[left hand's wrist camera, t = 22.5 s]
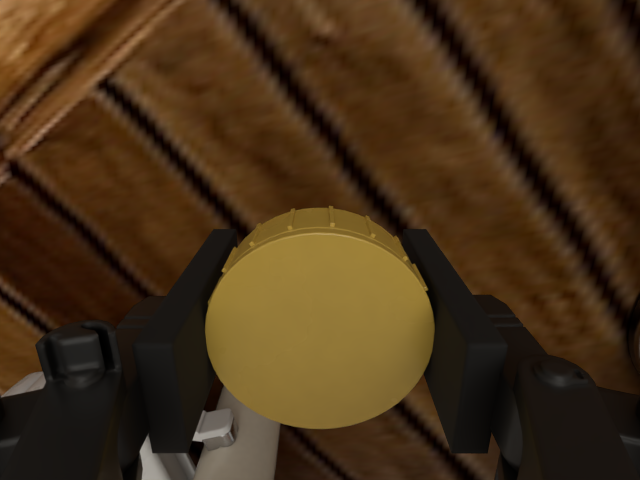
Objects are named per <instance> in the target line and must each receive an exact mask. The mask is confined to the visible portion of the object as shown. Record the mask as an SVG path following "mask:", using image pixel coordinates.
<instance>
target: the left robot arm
mask: <svg viewBox="0 0 640 480" xmlns="http://www.w3.org/2000/svg"><path fill="white" fill-rule="evenodd" d="M234 247H236V248H237V247H238V246H237V233H236V229H214V230H213V231H212V232H211V234H210V235H209V237H208V238H207V239H206V241H205V242H204V244H203V245H202V247H201V248H200V249H199V251H198V252H197V254H196V255H195V256H194V258H193V259H192V261H191V262H190V263H189V265H188V266H187V268H186V269H185V270H184V272H183V273H182V275H181V276H180V278H179V279H178V280H177V282H176V283H175V285H174V286H173V287H172V289H171V290H170V292H169V293H168V294H167V296H149V297H147V298H145V299H144V300H142V301H141V302H139V303H137V304H136V305H134V306H133V307H132V308H131V310H130V311H129V312H128V313H127V315H126V316H125V318H124V319H122V321H121V322H120V323H119V324H118V325H117V329H115V327H114V326H113V325H112V324H110V323H109V322H107V321H102V320H83V321H79V322H74V323H70V324H67V325H64V326H62V327H59V328H57V329H54V330H53V331H51V332H49V333H48V334H46V335H45V336H43V337H42V338H41V339H40V340H39V341H38V342H37V343H36V344H35V346H36V349H37V353H38V356H39V360H40V363H41V367H42V370H43V374H44V377H45V380H46V383H45V385H44V387H43V388H42V389H38V390H34V391H30V392H25V393H20V394H15V395H10V396H5V397H1V396H0V480H142V473H143V466H142V460H141V455H140V450H141V448H142V446H143V444H144V442H145V439H146V437H147V435H148V433H149V439H150V444H151V449H152V453H188V452H189V449H190V446H191V443H192V440H193V437H194V435H195V432H196V429H197V426H198V423H199V420H200V418H201V415H202V412H203V409H204V406H205V403H206V401H207V398H208V395H209V392H210V389H211V386H212V384H213V381H214V378H215V375H216V372H215V370H214V368H213V366H212V363H211V361H210V358H209V356H208V351H207V345H206V336H205V319H206V314H207V310H208V300H209V298H210V296H211V295H212V293H213V291H214V289H215V287H216V285H217V283H218V281H219V279H220V277H221V276H222V274H223V272H222V269H223V267H224V265H225V263H226V261H227V259H228V257H229V255H230V253H231V251H232V249H233V248H234ZM402 247H403V249H404V251H405V252H406V254H407V256H408V258H409V260H410V262H411V264H415V265H416V267H417V269H418V271H419V273H420V275H421V276H422V278H423V280H424V282H425V284H426V286H427V288H428V290H427V291H425V292H426V294H427V296H428V298H429V300H430V304H431V307H432V310H433V315H434V322H435V332H434V341H433V350H432V354H431V357H430V360H429V363H428V365H427V367H426V369H425V371H424V376H425V379H426V382H427V384H428V387H429V390H430V393H431V396H432V399H433V401H434V404H435V407H436V410H437V413H438V416H439V418H440V421H441V424H442V427H443V430H444V433H445V435H446V438H447V441H448V444H449V447H450V450H451V452H452V453H488V448H489V443H490V437H491V432H492V434H493V436H494V438H495V440H496V442H497V444H498V446H499V448H500V455H499V460H498V465H497V469H496V474H495V479H494V480H640V395H634V394H629V393H624V392H620V391H615V390H610V389H605V388H601V387H597V386H596V384H595V382H594V381H593V379H592V378H591V377H590V376H589V374H588V373H587V372H586V371H584V370H583V369H582V368H580V367H579V366H577V365H576V364H574V363H572V362H569V361H567V360H565V359H563V358H559V357H555V356H551V355H548V354H547V353H546V352H545V351H544V349H543V348H542V347H541V346H540V344H539V343H538V342H537V341H536V340H535V338H534V337H533V336H532V335H531V334H530V332H529V331H528V330H527V329H526V328H525V327H523V324H522V323H521V322H520V320H519V319H518V318H516V317H515V314H514V313H513V312H512V311H511V310H510V308H509V307H508V306H507V305H506V304H505V303H503V302H502V301H500V300H498V299H497V298H495V297H493V296H492V295H472V293H471V292H470V291H469V289H468V288H467V286H466V285H465V284H464V282H463V281H462V279H461V278H460V277H459V275H458V274H457V272H456V271H455V269H454V268H453V267H452V265H451V264H450V262H449V261H448V260H447V258H446V257H445V255H444V254H443V253H442V251H441V250H440V248H439V247H438V246H437V244H436V243H435V241H434V240H433V238H432V237H431V236H430V234H429V233H428V231H427V230H426V229H403V242H402ZM628 341H629V351H630V356H631V359H632V362H633V364H634V366H635V368H636V370H637V372H638V373H639V375H640V299H639V301H638V303H637V305H636V307H635V310H634V312H633V315H632V319H631V322H630V328H629V337H628Z"/></svg>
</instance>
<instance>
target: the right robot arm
mask: <svg viewBox="0 0 640 480" xmlns="http://www.w3.org/2000/svg"><path fill="white" fill-rule="evenodd" d="M45 383H46V380H45V377H44V374H43V372H36V373H32V374H29V375H27V376H26V377H25V378H23V379H22V380H20V381H19V382H18V383H17V384H15V385H14V386H13V387H12V388H10V389H9V390H8V391H7V392H6V393H5V394H3V395H2V396H1V397H5V396H10V395H15V394H20V393H25V392H30V391H34V390H38V389H42V388H43V387H44V385H45ZM238 429H239V428H238V425H237V423H236V420H235V418H234V415H233V413H232V411H231V409H230V408H225V409H221V410H216V411H211V412H207V413H206V411H204V410H203V412H202V415H201V418H200V420H199V423H198V426H197V429H196V432H195V435H194V437H193V440H192V441H199V442H202V441H203V443H204V445H205V447H206V448H207V450H208V451H211V450H215V449H218V448H219V447H229V446H231V445H232V444H233V443H234V442H235V441H236V437H237V432H238ZM140 455H141V460H142V466H143V473H142V480H193V477H194V474H195V470H196V467H195V465H194V463H193V461H192V459H191V457H190V455H189V453H152V449H151V444H150V439H149V433H148V435H147V437H146V439H145V442H144V444H143V446H142V448H141V450H140Z"/></svg>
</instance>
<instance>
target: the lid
mask: <svg viewBox="0 0 640 480" xmlns="http://www.w3.org/2000/svg"><path fill="white" fill-rule="evenodd" d="M222 272H223V274H222V276H221V277H220V279H219V281H218V283H217V285H216V287H215V289H214V291H213V293H212V295H211V296H210V298H209V300H208V310H207V314H206V319H205V336H206V345H207V351H208V356H209V358H210V361H211V363H212V366H213V368H214V370H215V372H216V374H217V375H218V377H219V379H220V380H221V382H222V383H223V384H224V386H225V387H226V388H227V390H228V391H229V392H230V393H231V394H232V395H233V396H234V397H235V398H236V399H238V400H239V401H240V402H241V403H243V404H244V405H245V406H246V407H248V408H250V409H251V410H253V411H254V412H256V413H258V414H260V415H262V416H264V417H266V418H268V419H270V420H273V421H276V422H279V423H282V424H285V425H290V426H294V427H300V428H308V429H330V428H340V427H345V426H350V425H354V424H357V423H361V422H364V421H366V420H369V419H371V418H374V417H376V416H378V415H380V414H382V413H383V412H385V411H387V410H389V409H390V408H391V407H393V406H394V405H396V404H397V403H398V402H400V401H401V400H402V399H403V398H404V397H405V396H406V395H407V394H408V393H409V392H410V391H411V390H412V389H413V388H414V386H415V385H416V384H417V383H418V381H419V379H420V378H421V376H422V375H423V373H424V371H425V369H426V367H427V365H428V363H429V360H430V357H431V354H432V350H433V341H434V332H435V322H434V315H433V310H432V307H431V304H430V300H429V298H428V296H427V294H426V292H425V291H427V290H428V288H427V286H426V284H425V282H424V280H423V278H422V276H421V275H420V273H419V271H418V269H417V267H416V265H415V264H411V262H410V260H409V258H408V256H407V254H406V252H405V251H404V249H403V247H402V245H401V243H400V241H399V239H398V237H397V236H394V237H393V236H392V235H391V234H390V233H388V232H387V231H386V230H385V229H383V228H382V227H381V226H379V225H378V224H376V223H374V222H373V221H371V220H370V218H369V216H367V215H366V216H365V217H363V216H360V215H358V214H355V213H352V212H348V211H345V210H339V209H333V206H329V208H308V209H300V210H296V211H295V208H294V209H291V211H290V212H288V213H285V214H282V215H279V216H277V217H275V218H273V219H271V220H269V221H267V222H265V223H263V224H261V223H259V224H257V226H256V229H255V230H253V231H252V232H251V233H250V234H249V235H248V236H247V237H246V238H245V239H244V240H243V241H242V242H241V244H240V245H239V246H238V247H237V248H236V247H234V248H233V249H232V251H231V253H230V255H229V257H228V259H227V261H226V263H225V265H224V267H223V269H222Z"/></svg>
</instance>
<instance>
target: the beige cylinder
mask: <svg viewBox="0 0 640 480" xmlns="http://www.w3.org/2000/svg"><path fill="white" fill-rule="evenodd" d="M225 408H230V409H231V411H232V413H233V415H234V418H235V420H236V423H237V425H238V428H239V429H238V432H237V437H236V441H235V442H234V443H233V444H232V445H231V446H229V447H219V448H218V449H215V450H211V451H208V450H207V448H206V447H205V445H204V446H203V449H202V452H201V455H200V458H199V461H198V464H197V467H196V470H195V474H194V477H193V480H274V477H275V468H276V460H277V452H278V444H279V435H280V427H281V423H279V422H276V421H273V420H270V419H268V418H266V417H264V416H262V415H260V414H258V413H256V412H254V411H253V410H251V409H250V408H248V407H246V406H245V405H244V404H243V403H241V402H240V401H239V400H238V399H236V398H235V397H234V396H233V395H232V394H231V393H230V392H229V391H228V390H227V388H226V387H225V386H224V387H223V388H222V391H221V394H220V397H219V400H218V403H217V406H216V409H215V411H216V410H221V409H225Z"/></svg>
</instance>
